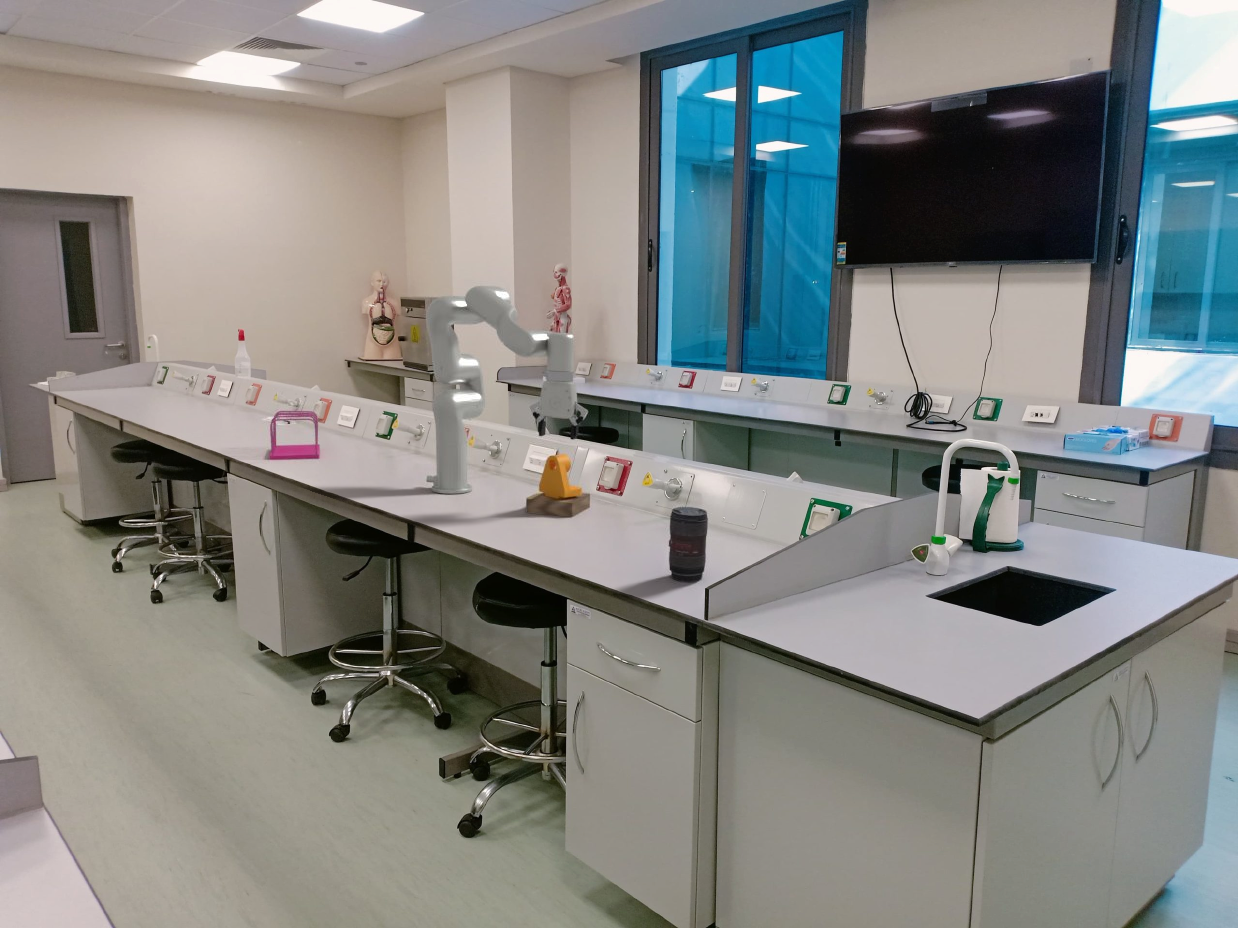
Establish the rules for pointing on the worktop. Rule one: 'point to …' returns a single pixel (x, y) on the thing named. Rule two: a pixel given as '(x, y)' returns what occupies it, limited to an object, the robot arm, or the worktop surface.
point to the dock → (557, 504)
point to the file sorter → (294, 450)
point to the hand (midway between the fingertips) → (557, 437)
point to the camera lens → (687, 543)
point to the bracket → (557, 478)
